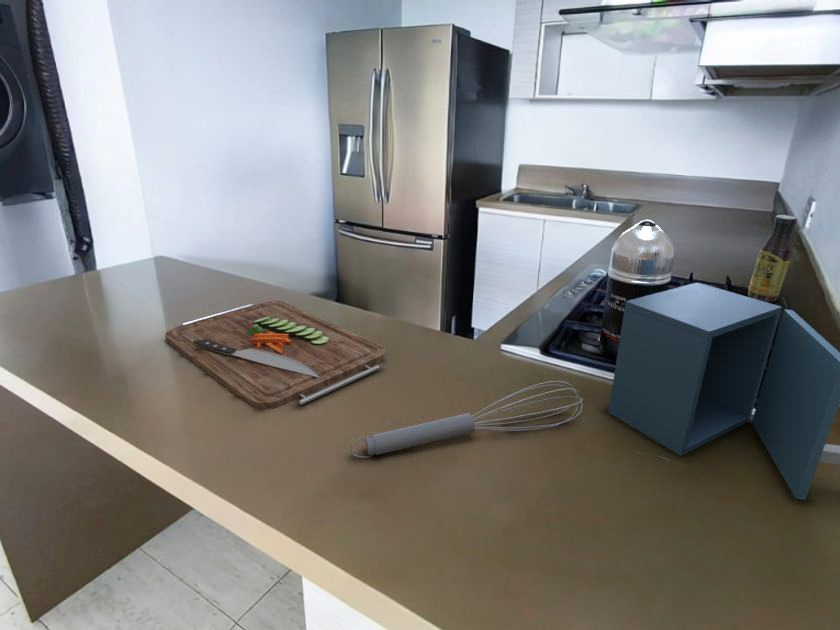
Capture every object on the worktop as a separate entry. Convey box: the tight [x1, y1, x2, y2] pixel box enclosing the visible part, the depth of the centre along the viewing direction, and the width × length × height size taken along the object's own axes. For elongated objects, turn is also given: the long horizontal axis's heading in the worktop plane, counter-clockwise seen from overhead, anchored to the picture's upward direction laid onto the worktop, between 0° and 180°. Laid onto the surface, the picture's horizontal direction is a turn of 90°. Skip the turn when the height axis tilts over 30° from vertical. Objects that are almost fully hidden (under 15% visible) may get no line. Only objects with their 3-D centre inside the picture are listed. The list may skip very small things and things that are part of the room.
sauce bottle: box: [747, 214, 798, 303], centre depth 117 cm, size 7×6×20 cm
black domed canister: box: [598, 219, 676, 361], centre depth 90 cm, size 10×10×25 cm
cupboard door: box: [751, 308, 840, 501], centre depth 62 cm, size 7×16×18 cm, turn 165°
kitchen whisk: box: [350, 380, 584, 459], centre depth 69 cm, size 6×34×6 cm, turn 106°
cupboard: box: [608, 281, 783, 457], centre depth 71 cm, size 12×16×18 cm
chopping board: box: [164, 300, 386, 410], centre depth 97 cm, size 45×27×3 cm, turn 46°
